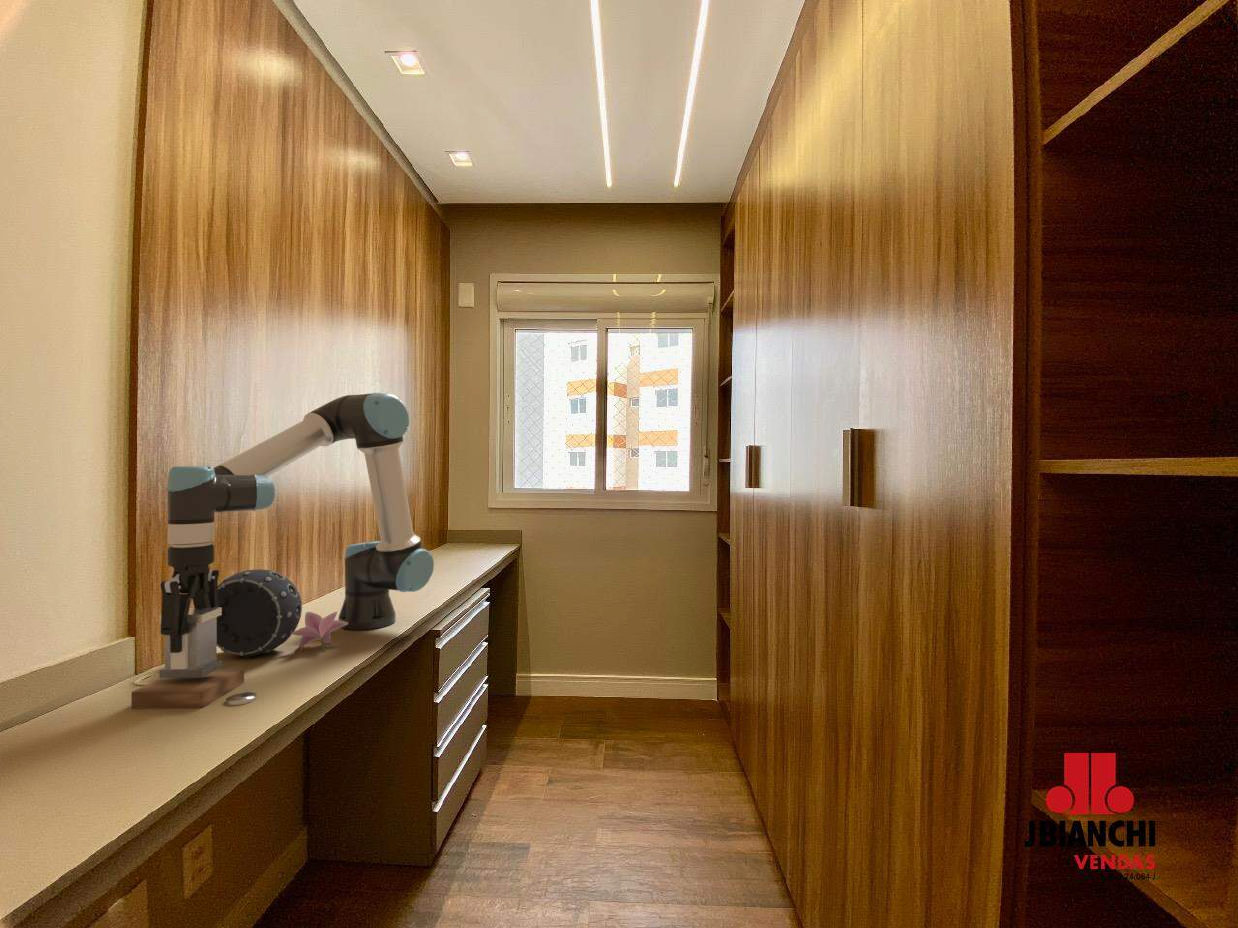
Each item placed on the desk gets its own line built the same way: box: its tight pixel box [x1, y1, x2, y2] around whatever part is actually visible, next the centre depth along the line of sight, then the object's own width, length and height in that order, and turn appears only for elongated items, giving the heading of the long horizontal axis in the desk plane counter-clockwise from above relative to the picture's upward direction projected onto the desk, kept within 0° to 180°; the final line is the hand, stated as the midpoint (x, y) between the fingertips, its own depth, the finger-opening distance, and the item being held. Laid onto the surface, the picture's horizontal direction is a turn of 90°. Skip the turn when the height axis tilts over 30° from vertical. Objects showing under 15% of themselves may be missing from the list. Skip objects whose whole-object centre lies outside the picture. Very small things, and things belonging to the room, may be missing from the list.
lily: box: [291, 611, 348, 653], centre depth 150 cm, size 12×12×10 cm
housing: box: [158, 607, 223, 679], centre depth 120 cm, size 6×8×12 cm
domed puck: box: [225, 691, 258, 707], centre depth 117 cm, size 5×5×1 cm
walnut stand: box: [130, 667, 245, 709], centre depth 120 cm, size 13×13×3 cm
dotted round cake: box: [217, 568, 303, 659], centre depth 146 cm, size 11×20×20 cm, turn 92°
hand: (191, 662), depth 120 cm, fingers closed on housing, 6 cm apart
